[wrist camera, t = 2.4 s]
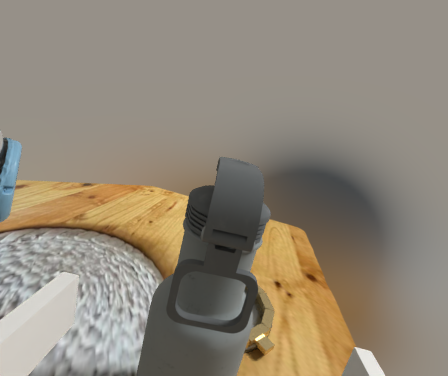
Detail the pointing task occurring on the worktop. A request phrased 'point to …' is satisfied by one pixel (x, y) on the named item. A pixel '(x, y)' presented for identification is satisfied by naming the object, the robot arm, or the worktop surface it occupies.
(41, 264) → the worktop surface
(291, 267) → the worktop surface
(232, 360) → the water bottle
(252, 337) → the collar
